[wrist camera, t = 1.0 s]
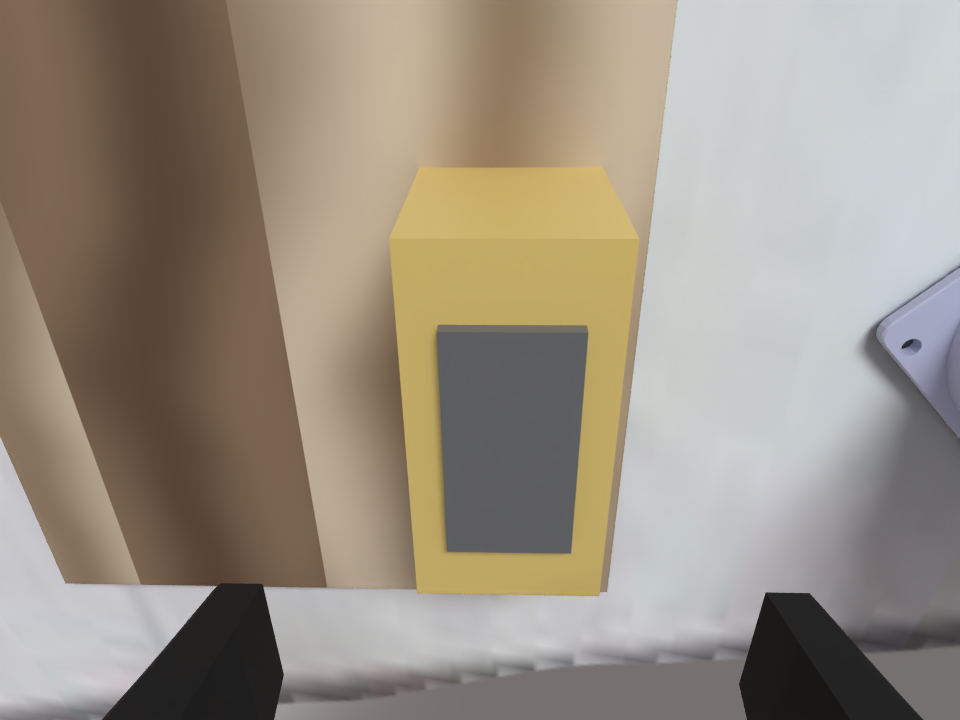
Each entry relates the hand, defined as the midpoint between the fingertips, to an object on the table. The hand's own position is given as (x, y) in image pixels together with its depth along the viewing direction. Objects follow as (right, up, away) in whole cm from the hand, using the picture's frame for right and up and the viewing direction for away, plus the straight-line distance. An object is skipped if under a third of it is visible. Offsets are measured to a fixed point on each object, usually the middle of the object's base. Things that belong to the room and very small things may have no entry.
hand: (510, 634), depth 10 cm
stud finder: (0, +5, +9) cm, 10 cm away
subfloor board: (-6, +5, +9) cm, 12 cm away
